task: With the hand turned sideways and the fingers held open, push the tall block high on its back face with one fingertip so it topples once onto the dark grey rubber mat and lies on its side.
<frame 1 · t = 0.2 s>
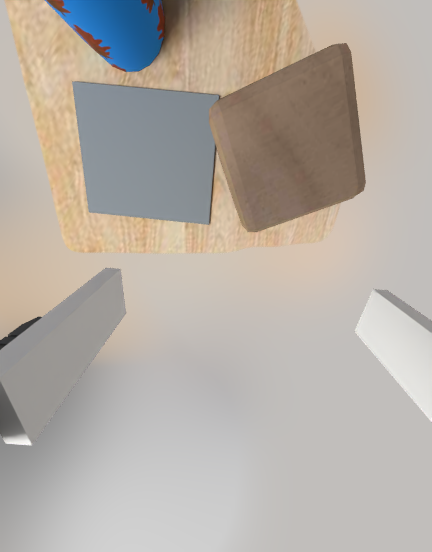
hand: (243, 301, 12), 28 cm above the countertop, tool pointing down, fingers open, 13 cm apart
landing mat: (147, 160, 34), on the countertop
thermos: (126, 22, 28), on the countertop
block: (257, 171, 34), on the countertop
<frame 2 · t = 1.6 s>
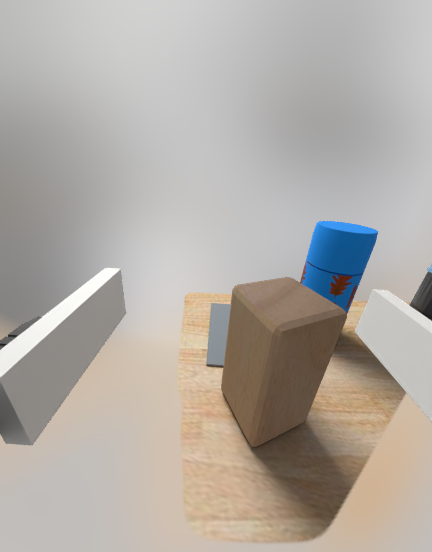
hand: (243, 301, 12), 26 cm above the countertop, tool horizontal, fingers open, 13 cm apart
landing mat: (248, 331, 50), on the countertop
thermos: (312, 330, 52), on the countertop
block: (260, 405, 34), on the countertop
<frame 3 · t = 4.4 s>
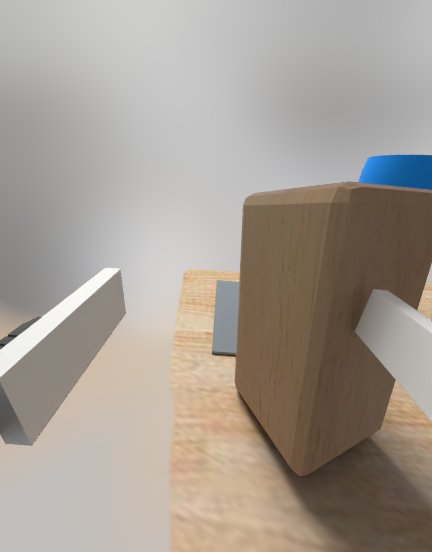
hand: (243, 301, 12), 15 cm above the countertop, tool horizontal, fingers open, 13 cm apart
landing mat: (266, 312, 37), on the countertop
thermos: (349, 313, 40), on the countertop
block: (298, 409, 21), point 1 cm above the countertop
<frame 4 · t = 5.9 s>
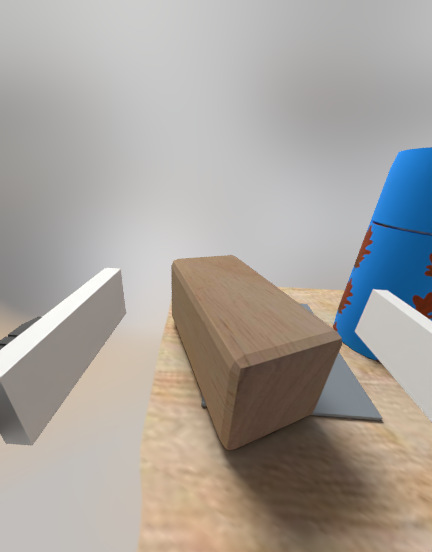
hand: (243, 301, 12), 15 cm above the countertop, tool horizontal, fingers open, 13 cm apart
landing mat: (270, 340, 31), on the countertop
thermos: (369, 338, 33), on the countertop
block: (288, 401, 17), point 5 cm above the countertop, touching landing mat
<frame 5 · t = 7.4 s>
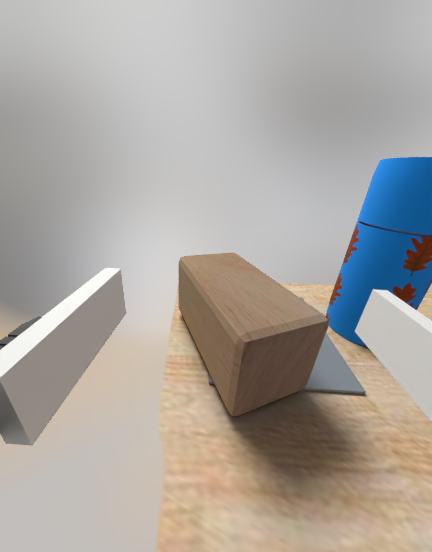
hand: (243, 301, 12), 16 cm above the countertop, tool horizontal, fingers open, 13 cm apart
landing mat: (268, 329, 34), on the countertop
thermos: (358, 327, 37), on the countertop
block: (284, 373, 20), point 5 cm above the countertop, touching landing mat
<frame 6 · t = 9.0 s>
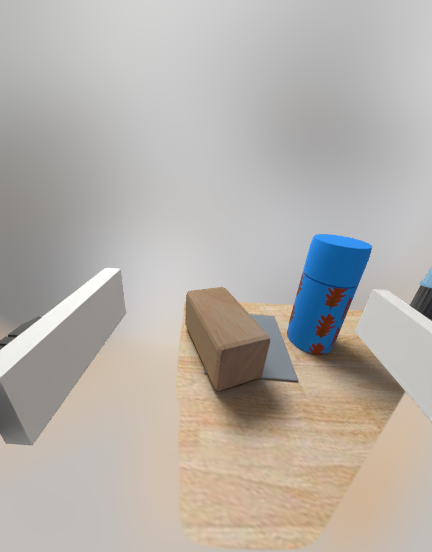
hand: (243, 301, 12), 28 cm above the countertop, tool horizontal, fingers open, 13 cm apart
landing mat: (245, 340, 51), on the countertop
thermos: (308, 339, 53), on the countertop
block: (245, 367, 37), point 5 cm above the countertop, touching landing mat
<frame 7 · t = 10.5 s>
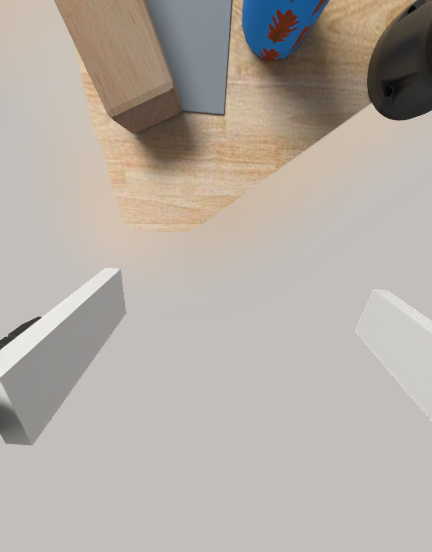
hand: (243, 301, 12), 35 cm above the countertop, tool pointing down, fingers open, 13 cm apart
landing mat: (171, 27, 33), on the countertop
thermos: (275, 17, 33), on the countertop
block: (152, 117, 33), point 5 cm above the countertop, touching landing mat
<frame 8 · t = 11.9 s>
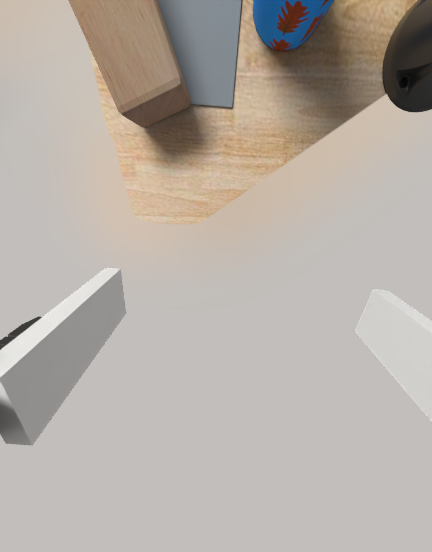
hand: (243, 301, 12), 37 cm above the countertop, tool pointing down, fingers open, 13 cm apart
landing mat: (181, 19, 33), on the countertop
thermos: (287, 5, 32), on the countertop
block: (160, 112, 34), point 5 cm above the countertop, touching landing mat
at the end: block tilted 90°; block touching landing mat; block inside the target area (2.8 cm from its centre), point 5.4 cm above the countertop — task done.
